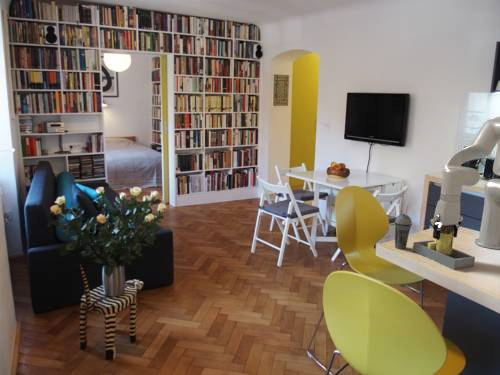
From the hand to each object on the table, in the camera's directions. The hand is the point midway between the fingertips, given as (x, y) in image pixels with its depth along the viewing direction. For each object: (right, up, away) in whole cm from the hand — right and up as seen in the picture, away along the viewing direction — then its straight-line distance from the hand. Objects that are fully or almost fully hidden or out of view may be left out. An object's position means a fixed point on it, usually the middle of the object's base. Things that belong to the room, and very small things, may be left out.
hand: (444, 237), depth 172 cm
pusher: (-2, -7, +7) cm, 10 cm away
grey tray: (0, -9, +2) cm, 9 cm away
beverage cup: (-14, -6, +13) cm, 20 cm away
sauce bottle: (0, -8, +2) cm, 8 cm away
